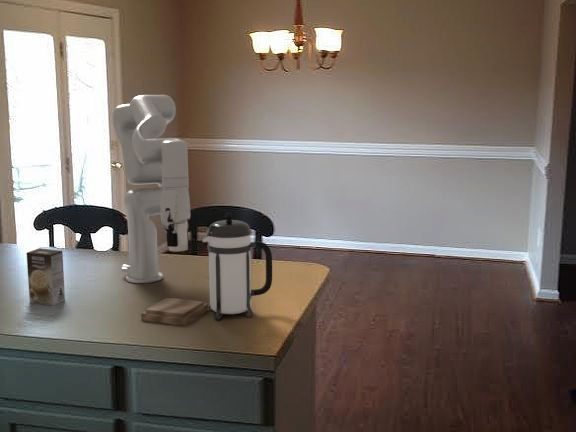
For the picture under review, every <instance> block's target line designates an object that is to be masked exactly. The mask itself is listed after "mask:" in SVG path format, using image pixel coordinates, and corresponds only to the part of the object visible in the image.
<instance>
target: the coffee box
mask: <svg viewBox="0 0 576 432" xmlns="http://www.w3.org/2000/svg"><path fill="white" fill-rule="evenodd" d="M63 256H64V255H63V250H57V249H51V248H50V249H49V248H40V247H39V248H36V249H34V250H30V251H28V252H26V265H27V268H26V269H27V280H28V282H27V283H28V295H29V296H28V297H29V304H30V303H31V304H37V305H45V306H53V305H54V306H56V305H58V304H60V303H62V302H64V301H66V294H65V293H66V292H65V291H66V290H65V274H64V257H63Z"/></svg>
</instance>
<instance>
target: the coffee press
mask: <svg viewBox="0 0 576 432" xmlns="http://www.w3.org/2000/svg"><path fill="white" fill-rule="evenodd" d="M233 217H234V215H233V214H232V213H231V212H226V213H225V215H224V218H225V219H223V220H217V221H215V222H213V223H211V224H210V225H209V227H208V229H207V230H206V234H205V235H204V237H203V239H202V243H207V251H208V276H209V279H208V280H209V305H208V311H213V312H215V315H214V320H215V321H221V320H222V318H223V316H224V315H237V314H241V313H243V314H245V316H246V317H247V318H252V317H253V316H254V312H253V309H252V308H251V306H252V297H255V296H261V295H263V294H266V293H267V292H268V291H270V288H271V287H272V284H273V254H272V251H271V249H270V247H269V246H268V244H266V243H264V242H262V241H259V240H258V241H251V235H252V229H251V228H250V226H249V224H248V223H246V222H245V221H241V220H238V219H237V220H236V219H235V220H234V218H233ZM252 248H258V249H262V250H263V252H264V255H265V283H264V285H263V286H262V287H260V288H257V289H256V288H255V289H252V271H251V270H252V268H251V266H252V265H251V264H252V263H251V261H252V258H251V256H252V255H251V251H252Z"/></svg>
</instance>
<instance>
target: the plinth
mask: <svg viewBox="0 0 576 432" xmlns="http://www.w3.org/2000/svg"><path fill="white" fill-rule="evenodd" d="M207 312H209V305H208V304H207V303H204V301H200V300H199V301H198V300H190V299H182V298H174V297H166V298H164V299H162V300H161V301H158V302H157V303H155V304H153V305H151V306H150V307H148V308H146V309H145V310H144V311H143V312H141V313H140V316H141V317H140V318H141V320H140V321H145V322H151V323H152V322H153V323H160V324H166V325H167V324H169V325H176V326H184V327H185V326H186V325H187V326H188V325H189V324H190V323H192V322H193V321H195V320H197V318H199V317H201V316H202V315H204V314H206V313H207Z"/></svg>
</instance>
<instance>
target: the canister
mask: <svg viewBox="0 0 576 432" xmlns="http://www.w3.org/2000/svg"><path fill="white" fill-rule="evenodd" d="M170 222H173V221H172V220H170ZM171 226H172V228H173V225H171ZM176 233H177V238H178V246H177V247H170V246H167V247H168V251H169V252H184V251H188V250H189V245H188V243H189V239H188V240H187V222H186V221H185V220H182V221H180V222H179V223H177V227H176Z"/></svg>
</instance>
